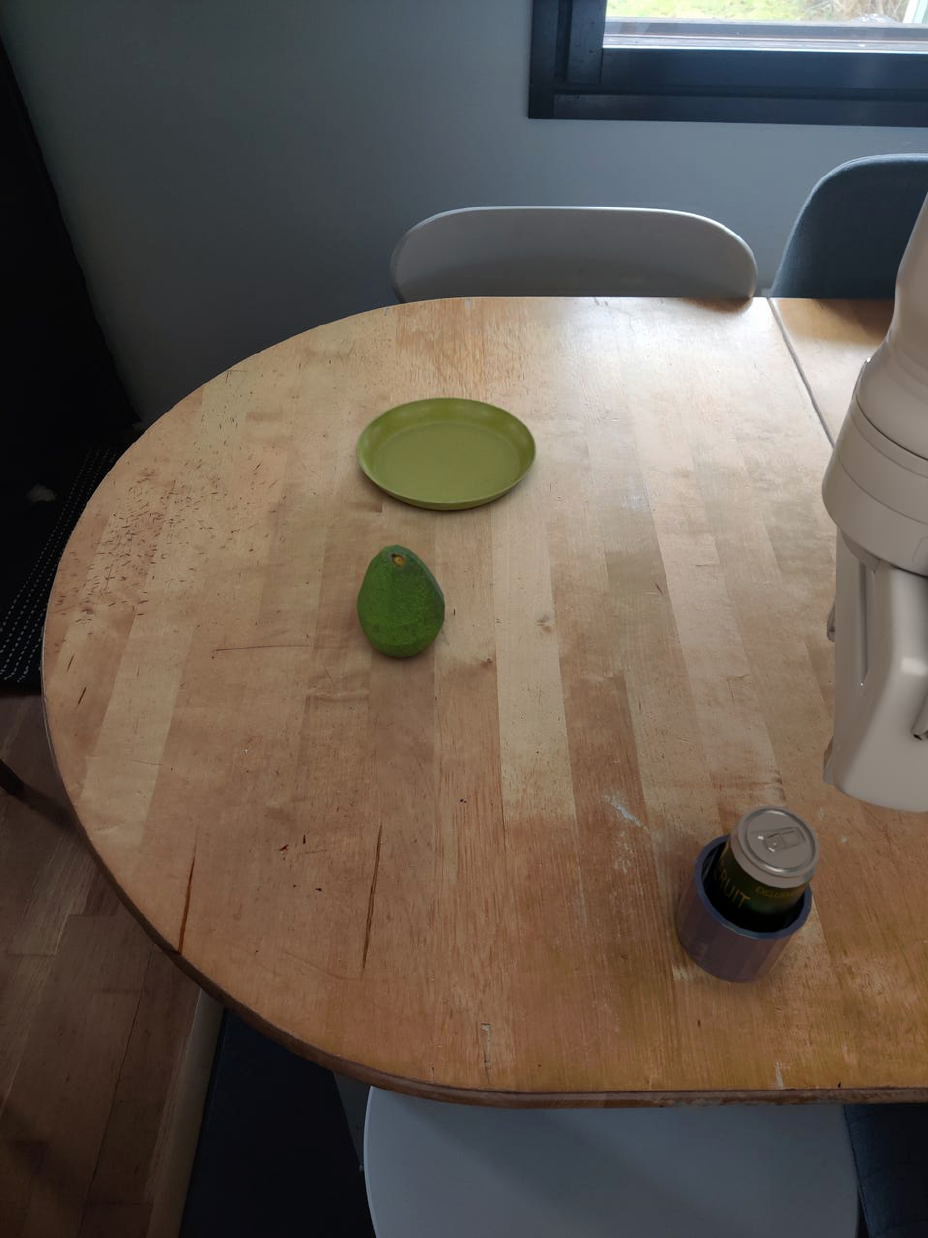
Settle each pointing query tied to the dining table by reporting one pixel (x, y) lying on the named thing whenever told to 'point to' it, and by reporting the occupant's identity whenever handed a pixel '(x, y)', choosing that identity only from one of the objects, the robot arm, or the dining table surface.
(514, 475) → the saucer
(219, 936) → the dining table surface
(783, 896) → the dark green drink can
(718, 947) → the cup
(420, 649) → the avocado
